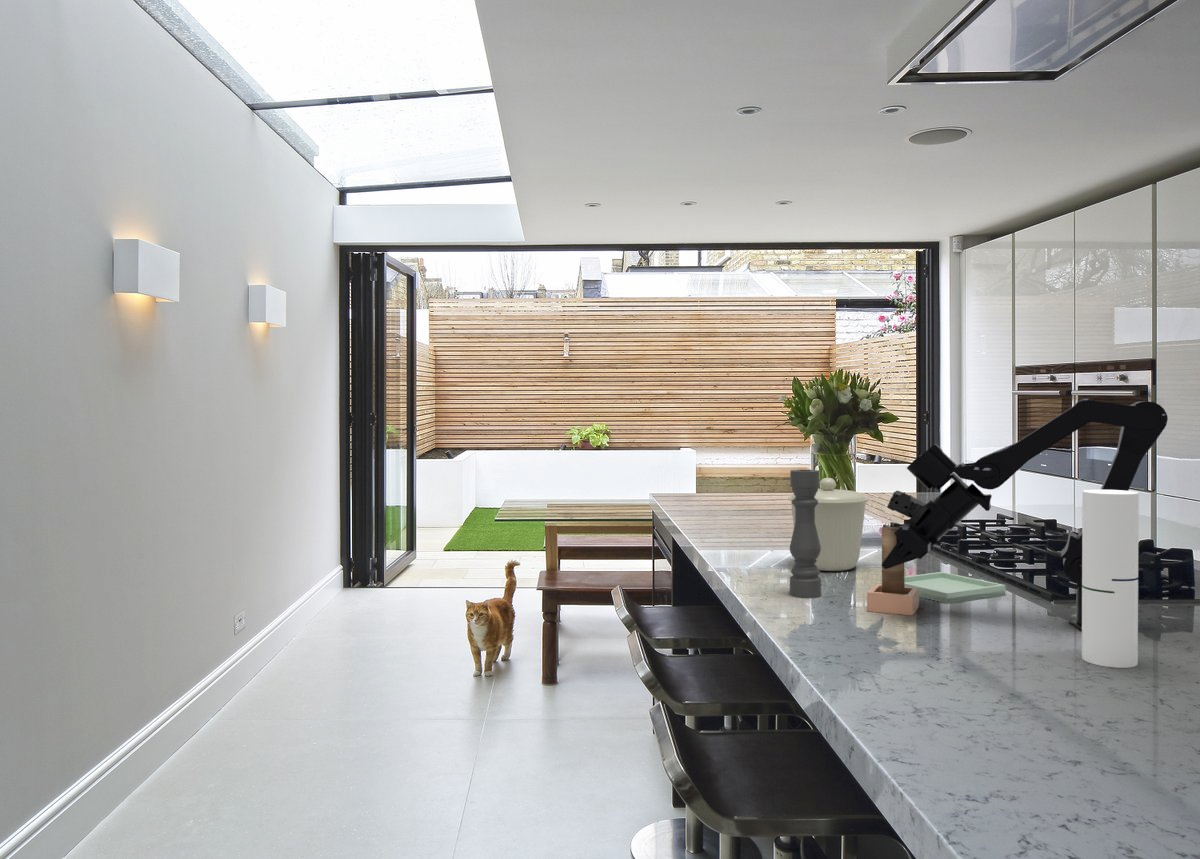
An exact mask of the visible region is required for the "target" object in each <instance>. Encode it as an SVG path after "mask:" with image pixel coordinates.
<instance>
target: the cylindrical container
mask: <svg viewBox="0 0 1200 859" xmlns="http://www.w3.org/2000/svg"><path fill="white" fill-rule="evenodd" d="M1139 493H1140V492H1139V491H1133V490H1128V491H1124V490H1101V489H1084V490H1082V516H1081V517H1082V518H1081V519H1082V523H1081V524H1082V525H1081V526H1082V528H1081V530H1082V585H1083V586H1082V630H1081V659H1082V660H1083V661H1085V662H1087V663H1090V664H1092V665H1096V666H1101V667H1108V668H1119V669H1124V668H1125V669H1127V668H1133V667H1134V668H1135V667H1137V666H1138V664H1139V662H1138V661H1139V658H1138V657H1139V656H1138V653H1139V652H1138V651H1139V643H1138V642H1139V635H1138V634H1139V510H1140V508H1139V501H1140V500H1139V498H1140V495H1139Z"/></svg>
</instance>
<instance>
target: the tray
mask: <svg viewBox="0 0 1200 859" xmlns="http://www.w3.org/2000/svg"><path fill="white" fill-rule="evenodd" d="M904 578H905V587H914V588H919V598H921V599H922V598H923V599H925V598H926V599H925V600H929V599H931V600H930V601H933V600H935V601H934V602H937V601H939V602H938V603H941V602H943V603H942V604H945V603H947V604H946V605H948V603H950V604H956V603H955V602H957V603H961V601H964V602H969V601H968V600H970V601H975V600H974V599H977V600H982V599H981V598H983V599H988V598H994V597H995V598H996V597H1001V596H1006V592H1007V591H1006V586H1007V585H1006V584H1003V583H997V582H992V581H987V580H982V579H978V578H972V577H969V576H964V575H959V574H953V573H948V572H944V571H939V572H930V573H922V574H916V575H915V574H914V575H908V576H907V575H906V576H905V575H904Z"/></svg>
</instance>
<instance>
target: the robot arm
mask: <svg viewBox="0 0 1200 859" xmlns="http://www.w3.org/2000/svg"><path fill="white" fill-rule="evenodd" d="M1168 420H1169V419H1168V414H1167V412H1166V410H1165V409H1164V407H1163V406H1162V405H1160V404H1158V403H1157V402H1155V401H1149V400H1144V401H1143V400H1142V401H1136V402H1134V403H1132V404H1130V405H1129V404H1121V403H1120V404H1119V403H1115V402H1114V403H1112V402H1107V401H1105V402H1104V401H1098V400H1097V401H1096V400H1094V399H1090V398H1082V399H1080V400H1078V401H1077V402H1076V403H1075V404H1073V406H1072V407H1070V408H1068V409H1067V410H1065V411H1064V412H1062V413H1061V414H1058V415H1057V416H1056V417H1054V418H1052V419H1051V420H1049V421H1048V422H1046V423H1045V424H1043V425H1041V426H1040V427H1039V428H1038V429H1036V430H1034V431H1033V432H1031V433H1029V434H1027V435H1026V436H1024V437H1023V438H1021V439H1020V440H1019V441H1017V442H1015V443H1013V444H1009V445H1008V446H1005V447H1003V448H1000V449H997V450H996V451H993V452H990V453H988V454H986V455H984V456H982V457H980V458H978V459H977V460H976V461H975V462H971V463H969V462H968V463H964V462H962V463H960V464H956V462H954V460H952V458H950V457H949V456H948V455H947V454H946V453H945V451H943V449H942V448H941V447H940V446H939V445H938V443H934V444H932V446H930V447H929V448H928V449H927V450H925V451H924V452H923V453H922V454H920V455H918V456H917V457H916V458H915V459H914V460H913V461H912V462H911V463H910V464H909V465H908V466H907V467H906V470H908V471H909V472H910V473H911V474H912V475H913V476H914V477H915V478H916V479H917V480H918V481H919V482H920V483H921V484H922V485H923V486H924V487H926V489H928V491H930V490H931V489H933V490H935V489H936V491H939V490H941V489H942V487H944V486H945V485H946V484H947V483H948V482H949V481H951V480H953V482H951V483H950V485H949V486H947V487H946V488H945V489H944V490H943V491H942V492H941V493H940V494H938V495H937V497H935V498H934V499H933V500H932V499H931V500H929V501H928V502H927V503H925V502H923V501H921V500H919V499H917V498H915V497H913V496H912V494H911V495H909V494H908V493H907V494H906V492H905V491H904V492H903V491H900V490H896V491H894V492H893V493H892V495H891V497H890V499H889V502H888V504H887V506H886V507H887V509H889V510H891V511H896V512H897V513H899V514H901V515H903V516H906V517H908V518H909V519H908V520H907V521H908V522H907V523H904V524H903V525H901V526H900V527H898V528H899V529H898V530H897V531H896V532H895V533H894V534H895V535H896V541H897V543H896V545H895V546H894V548H893V549H892V551H891V552H890V553H889V555H888V556H887V558H886V559H885V560H884V562H883V563H882V562H881V568H882V567H883V568H884V569H888V568H891V567H893V566H896V565H899V564H902V563H904V564H905V563H908V562H911V561H913V560H917V559H919V560H921V559H922V558H923V557H924V556H926V555H928V553H929V552H930V551H931V549H932V548H931V547H933V546H934V545H935V544H936V543H939V541H940V540H941V538H942V537H943V536H945V535H946V534H947V533H948V532H949V531H950V530H952V529H953V528H954V527H955V526H956V525H957V524H958V523H959V522H960V521H962V520H963V519H964V518H965V517H966V516H967V515H969V514H970V513H971V512H972V511H973V510H974V509H976V507H978V505H979V506H980V507H981V508H983V509H984V510H985V511H986V512H988V511H990V510H991V507H992V505H991V500H992V498H993V497H992V496H993V495H992V494H991V493H990V494H988V493H987V494H984V493H983V491H981V490H980V489H979V488H981V489H984V490H996V489H997V488H1000V487H1001V486H1002V485H1003V484H1004V483H1005V482H1007V481H1008V480H1009V479H1010V478H1012V476H1014V474H1016V473H1017V471H1019V470H1020V469H1021V468H1022V467H1023V466H1025V464H1027V462H1028V461H1029V460H1031V459H1033V458H1035V457H1036V456H1038V455H1039V454H1040V453H1043V452H1044V451H1046V450H1047V449H1049V448H1050V447H1052V446H1054V445H1055V444H1057V443H1059V442H1060V441H1062V440H1063V439H1065V438H1066V437H1068V436H1070V435H1071V434H1074V432H1077V431H1078V430H1079V429H1081V428H1082V427H1084V426H1086V425H1087V424H1089V423H1097V424H1104V425H1109V426H1110V425H1111V426H1118V427H1120V429H1119V430H1120V431H1119V439H1118V442H1117V443H1118V444H1117V449H1116V452H1115V454H1114V456H1113V457H1114V458H1113V459H1112V461H1111V464H1110V467H1109V468H1108V471H1107V473H1106V476H1105V479H1104V480H1103V483H1102V486H1101V488H1100V490H1124V491H1130V487H1131V485H1132V483H1133V480H1134V479H1135V476H1136V474H1137V471H1138V469H1139V467H1140V465H1141V462H1142V460H1143V458H1144V457H1145V456H1146V454H1147V453H1148V452H1149V450H1151V448H1152V447H1153V445H1154V444H1155V443H1156V441H1157V440H1158V439H1159V437H1160V435H1161V434H1162V432H1163V431H1164V430H1165V428H1166V426H1167V424H1168ZM962 479H964V480H967V481H973V483H971V484H970V485H968V484H966V482H964V480H962ZM975 484H976V485H977V486H978V487H979V488H978V487H977V486H976V485H975ZM1060 557H1061V559H1062V564H1063V570H1064V573H1065V575H1066V577H1067V578H1068V579H1069V580H1070V581H1072V582H1074V583H1075V584H1076V585H1077V588H1076V598H1075V599H1076V604H1075V606H1076V616H1075V617H1076V618H1069V619H1068V623H1070V624H1072V625H1074V626H1075V627H1076V628H1078V629H1079V630H1081V631H1082V586H1083V585H1082V529H1081V530H1080V531H1079V533H1078V534H1076V533H1074V532H1073V531H1069V533H1068V537H1067V541H1066V544H1065V546H1064V547H1063V549H1062V550H1060Z"/></svg>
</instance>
